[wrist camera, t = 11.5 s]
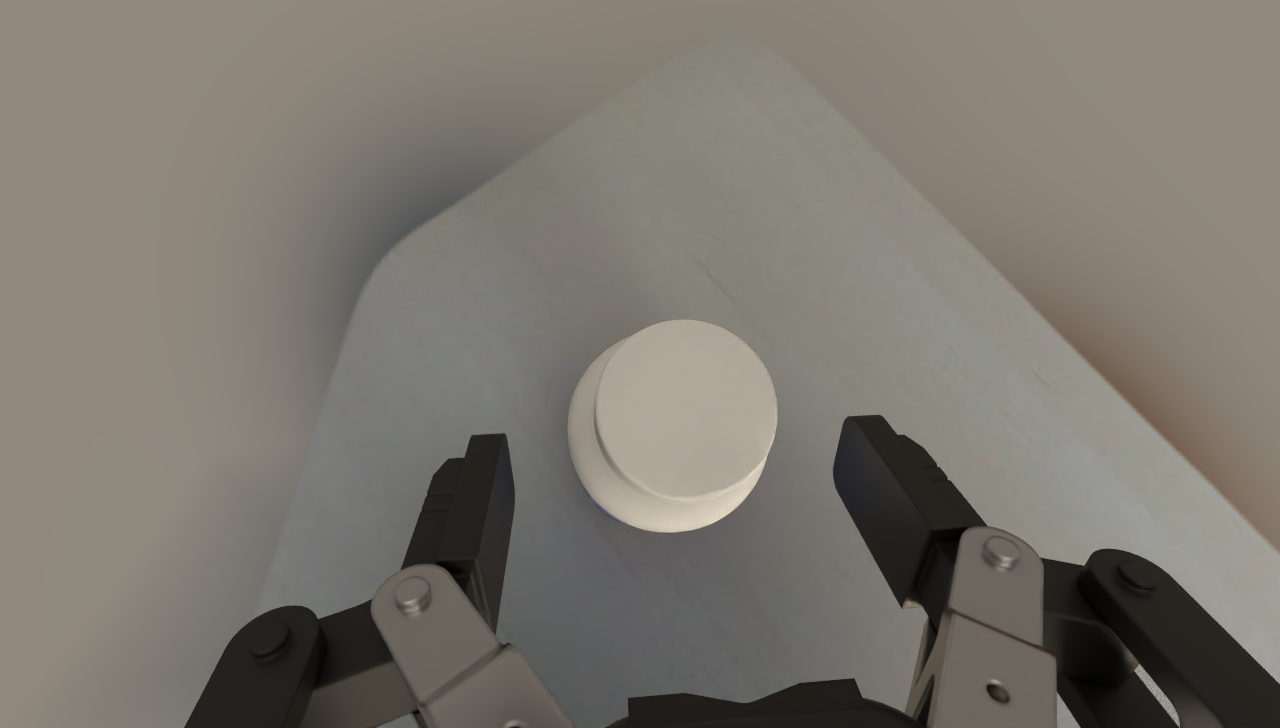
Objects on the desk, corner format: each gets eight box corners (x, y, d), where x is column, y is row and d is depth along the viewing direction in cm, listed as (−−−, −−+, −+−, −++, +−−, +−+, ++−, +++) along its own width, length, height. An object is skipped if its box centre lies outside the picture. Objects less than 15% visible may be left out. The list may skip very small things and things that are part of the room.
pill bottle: (631, 557, 20) (654, 600, 11) (548, 436, 21) (503, 379, 12) (747, 468, 21) (860, 436, 12) (664, 357, 22) (707, 246, 13)
